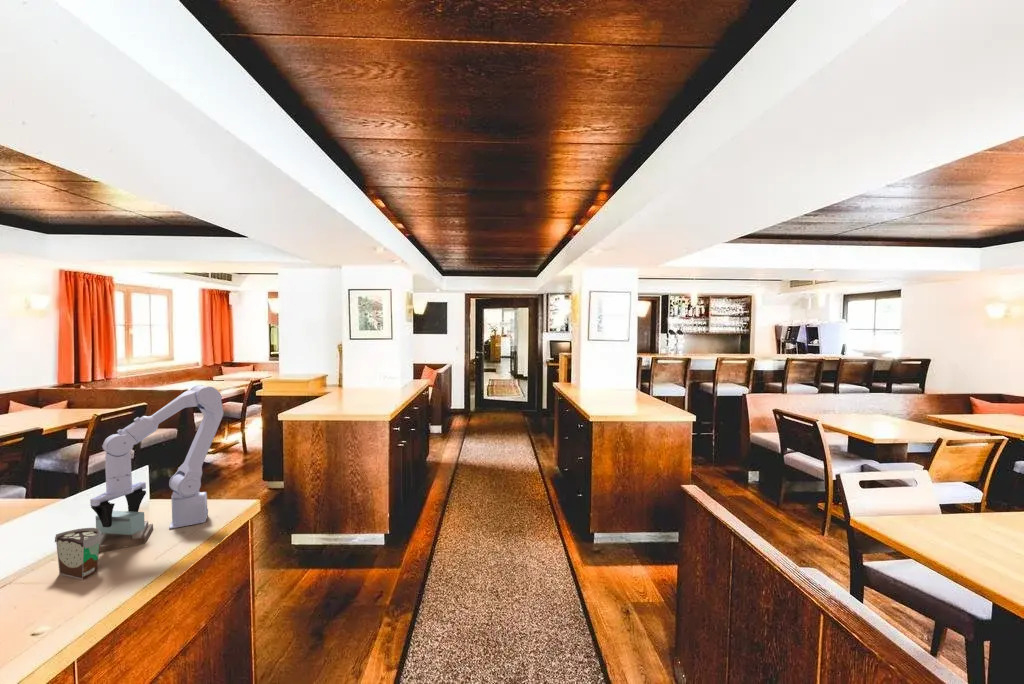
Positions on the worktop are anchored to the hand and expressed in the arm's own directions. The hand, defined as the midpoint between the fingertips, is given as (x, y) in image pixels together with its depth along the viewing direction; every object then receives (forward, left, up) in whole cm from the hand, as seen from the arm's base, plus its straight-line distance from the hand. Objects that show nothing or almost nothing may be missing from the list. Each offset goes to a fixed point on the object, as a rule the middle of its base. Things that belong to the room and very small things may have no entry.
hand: (120, 521), depth 133 cm
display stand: (0, 0, -6) cm, 6 cm away
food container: (+4, +18, -6) cm, 19 cm away
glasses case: (0, 0, -3) cm, 3 cm away
